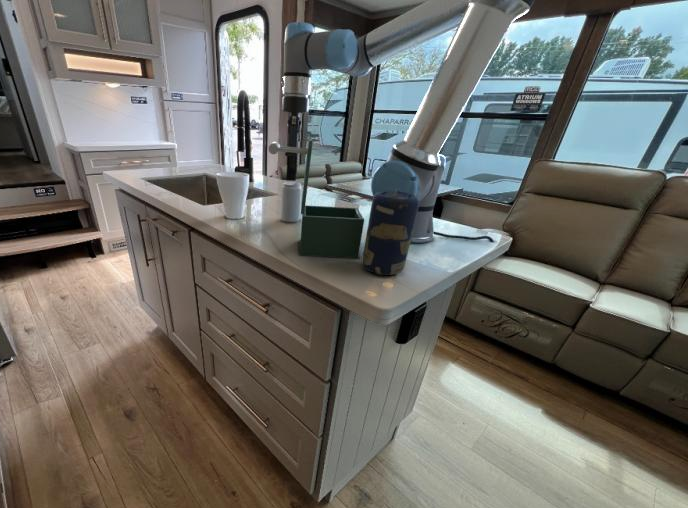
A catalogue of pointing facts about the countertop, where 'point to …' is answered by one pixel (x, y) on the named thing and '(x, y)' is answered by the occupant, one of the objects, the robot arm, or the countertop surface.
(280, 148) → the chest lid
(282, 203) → the beverage can
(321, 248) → the chest
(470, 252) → the countertop surface
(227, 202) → the cup
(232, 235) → the countertop surface
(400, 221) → the canister
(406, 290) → the countertop surface
